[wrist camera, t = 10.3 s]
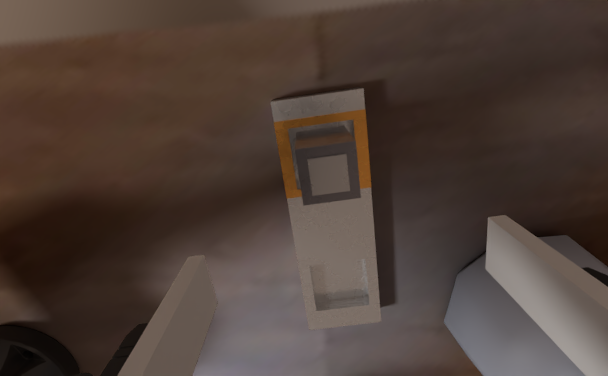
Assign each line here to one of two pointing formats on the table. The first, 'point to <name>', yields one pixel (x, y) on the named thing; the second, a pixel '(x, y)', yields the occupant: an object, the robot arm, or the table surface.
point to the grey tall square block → (327, 165)
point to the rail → (331, 215)
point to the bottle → (508, 321)
